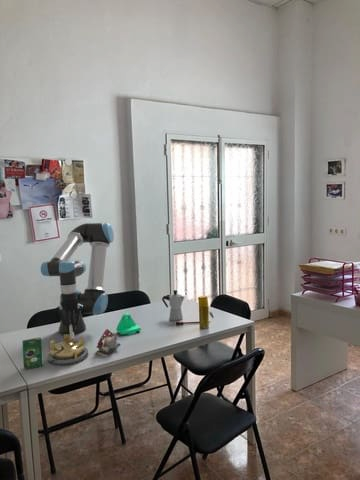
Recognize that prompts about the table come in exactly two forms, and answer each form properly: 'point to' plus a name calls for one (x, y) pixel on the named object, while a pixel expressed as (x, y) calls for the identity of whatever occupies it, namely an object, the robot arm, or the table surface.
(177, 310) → the coffee maker
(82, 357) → the index base
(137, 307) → the table surface
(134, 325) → the camera mount
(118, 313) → the table surface
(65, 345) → the brass finned hub
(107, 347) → the brake caliper
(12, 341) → the table surface
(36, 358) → the coffee box
